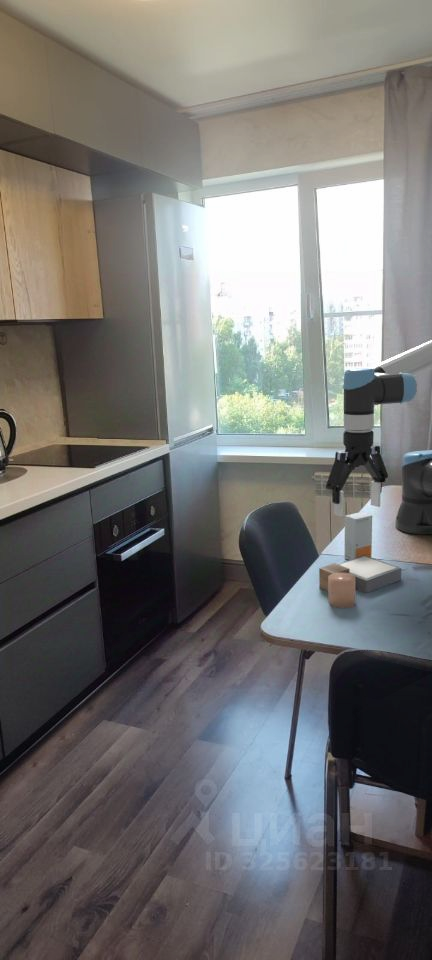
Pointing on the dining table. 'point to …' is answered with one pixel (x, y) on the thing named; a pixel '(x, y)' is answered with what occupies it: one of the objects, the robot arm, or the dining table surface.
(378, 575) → the podium
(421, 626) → the dining table surface
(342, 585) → the peach rounded capsule
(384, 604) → the dining table surface
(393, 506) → the dining table surface
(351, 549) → the skincare box
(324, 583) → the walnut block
